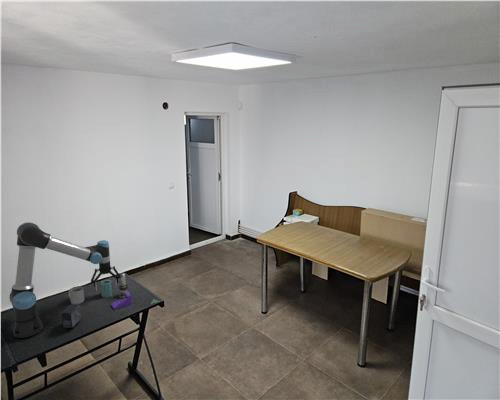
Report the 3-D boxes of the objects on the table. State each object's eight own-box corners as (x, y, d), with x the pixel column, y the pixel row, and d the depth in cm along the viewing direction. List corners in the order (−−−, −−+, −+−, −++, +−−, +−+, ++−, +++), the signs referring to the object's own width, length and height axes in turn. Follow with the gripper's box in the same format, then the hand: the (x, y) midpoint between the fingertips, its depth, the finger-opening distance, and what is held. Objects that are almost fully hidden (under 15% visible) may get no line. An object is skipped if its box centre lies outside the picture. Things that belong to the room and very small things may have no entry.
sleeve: (101, 299, 246) (100, 285, 244) (101, 294, 253) (100, 281, 250) (112, 297, 249) (111, 283, 247) (112, 292, 256) (111, 279, 254)
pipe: (120, 296, 248) (119, 275, 245) (120, 293, 252) (119, 273, 249) (127, 295, 250) (126, 274, 247) (127, 292, 254) (125, 272, 251)
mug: (85, 302, 241) (84, 289, 239) (70, 306, 235) (69, 293, 234) (83, 296, 250) (81, 283, 248) (68, 300, 244) (67, 287, 242)
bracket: (128, 301, 244) (127, 292, 243) (131, 304, 239) (130, 295, 238) (111, 306, 237) (110, 297, 236) (114, 310, 232) (113, 300, 230)
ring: (119, 290, 246) (119, 288, 246) (119, 287, 251) (118, 285, 251) (128, 289, 249) (128, 286, 248) (127, 286, 254) (127, 283, 254)
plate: (118, 299, 246) (118, 297, 246) (118, 294, 253) (117, 293, 253) (130, 297, 249) (130, 295, 249) (129, 292, 256) (129, 291, 256)
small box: (71, 318, 220) (70, 303, 218) (81, 319, 220) (80, 304, 218) (62, 327, 210) (60, 312, 208) (72, 328, 209) (71, 312, 207)
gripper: (85, 266, 237) (87, 294, 241) (123, 260, 247) (124, 287, 252) (85, 262, 244) (88, 289, 248) (122, 257, 254) (124, 283, 258)
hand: (106, 288), depth 250 cm, fingers open, 13 cm apart
